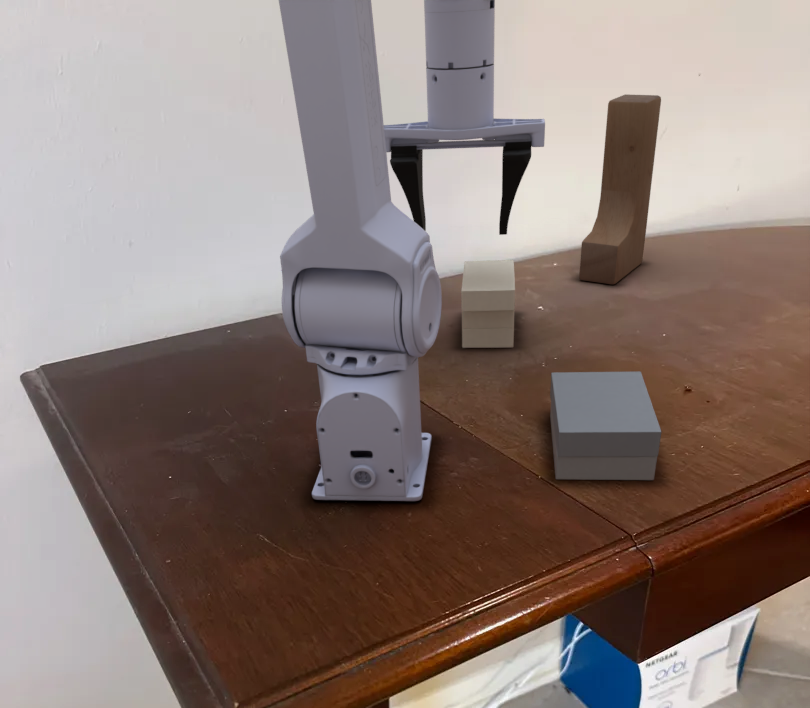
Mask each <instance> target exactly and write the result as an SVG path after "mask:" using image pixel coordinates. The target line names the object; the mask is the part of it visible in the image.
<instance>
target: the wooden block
mask: <svg viewBox="0 0 810 708" xmlns="http://www.w3.org/2000/svg"><path fill="white" fill-rule="evenodd" d="M661 104H662V96H660V95H656V94H655V95H654V94H622V95H620V96H618V97H615V98H612V99H610V100H609V101H608V103H607V111H606V112H607V113H606V114H607V115H606V124H605V125H606V127H605V136H604V137H605V138H604V150H603V160H602V161H603V162H602V172H601V173H602V174H601V187H600V198H599V203H598V208H597V215H596V218H595V221H594V223H593V226H592V229H591V231H590V232H589V233H588V234H587V235H586V236H585V238H584V239H583V240H582V241H581V245H580V261H579V276H578V277H579V280H580V281H586V282H591V283H600V284H606V285H616V284H617V283H618V282H619V281H621V280H622V279H623V278H624V277H626V276H627V275H629V274H630V273H631V272H632V271H634V270H635V269H636V268H637V267H639V266H640V265H641V264H642V263H643V258H644V251H645V243H646V233H647V227H648V219H649V218H648V217H649V210H650V209H649V208H650V199H651V189H652V182H653V174H654V164H655V155H656V148H657V139H658V130H659V121H660V113H661Z"/></svg>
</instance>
